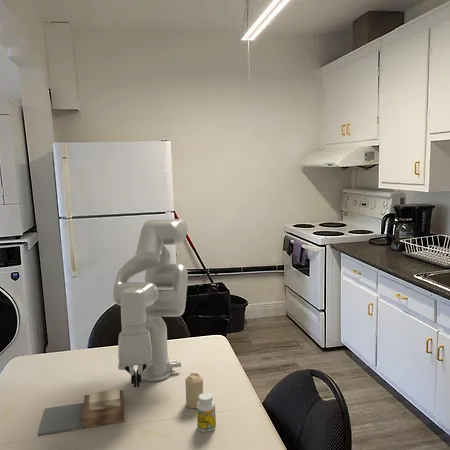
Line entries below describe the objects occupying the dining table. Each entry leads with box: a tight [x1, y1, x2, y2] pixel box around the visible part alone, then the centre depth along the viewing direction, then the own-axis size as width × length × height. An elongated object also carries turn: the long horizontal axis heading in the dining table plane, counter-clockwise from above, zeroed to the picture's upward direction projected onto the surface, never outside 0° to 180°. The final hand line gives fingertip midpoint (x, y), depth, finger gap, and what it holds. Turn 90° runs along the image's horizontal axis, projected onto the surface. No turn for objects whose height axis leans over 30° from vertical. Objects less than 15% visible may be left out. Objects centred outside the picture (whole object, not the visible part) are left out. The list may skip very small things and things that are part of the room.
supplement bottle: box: [196, 392, 217, 432], centre depth 126 cm, size 5×5×10 cm
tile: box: [89, 388, 121, 411], centre depth 135 cm, size 9×6×2 cm, turn 105°
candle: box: [185, 372, 204, 409], centre depth 138 cm, size 6×6×10 cm
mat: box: [37, 402, 84, 437], centre depth 132 cm, size 12×14×1 cm
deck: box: [81, 389, 126, 430], centre depth 135 cm, size 12×14×3 cm
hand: (136, 385), depth 136 cm, fingers closed
